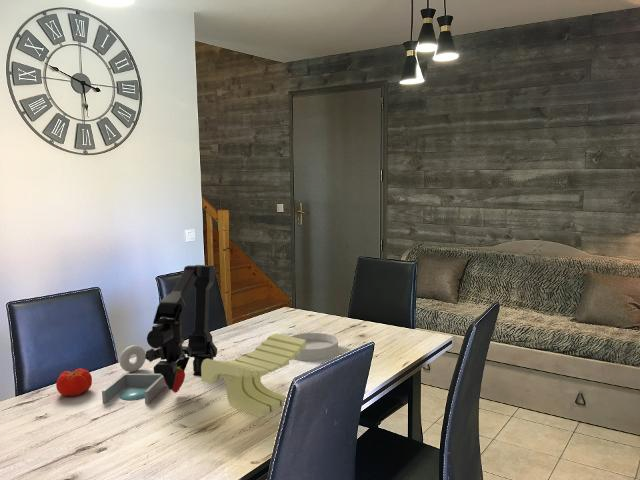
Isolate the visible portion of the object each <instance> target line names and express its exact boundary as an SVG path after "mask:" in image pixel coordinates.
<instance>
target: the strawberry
mask: <svg viewBox="0 0 640 480" xmlns="http://www.w3.org/2000/svg"><path fill="white" fill-rule="evenodd" d="M177 369H178V372H177V376H176V380H175V383H174V387H173V389H172V390H171V391H172V392H173V393H175V394H176V393H178V392H179V390H180V389H181V387H182V385H183V383H184V381H185V378H186V373H185V371H183V369H180V367H177ZM164 381H165V378H164ZM165 383H166V381H165ZM166 386H167V383H166Z"/></svg>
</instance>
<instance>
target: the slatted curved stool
mask: <svg viewBox="0 0 640 480" xmlns="http://www.w3.org/2000/svg"><path fill="white" fill-rule="evenodd" d="M305 348H306V340H304V339H299V338H295V337H290V335H284V334H280V333H273V334H271V335H270V336H269V335H268V337H267V338H266V339H265V340H264V341H262V342H261V344H260V345H258V346H256V348H255V349H254V350H253V351H250V352H248V353H247V354H245V356H244V355H243V356H240V357H237V358H234V359H231V360H227V361H226V360H225V361H224V360H215V359H213V360H211V359H208V358H207V359H205V360H203V362H202V365H201V375H200V376H201V382H204V383H208V384H210V385H211V384H212V385H213V384H214V383H215V382H217V379H218V380H222V379H223V381H224V383H225V387H226V394H227V395H226V396H227V401H228V403H229V405H230V407H233V408H235V409H238V410H241V411H243V412H247V413H249V414H251V415H255V416H257V417H260V418H262V417H264V416H266V415H268V414H269V413H271V412H274V411H275V410H277V409H279V408H280V407H281V406H285V405H284V402H285V399H286V395H283V394H280V393H278V392H275V391H273V390H271V389H269V388H268V387H266V386H265V385H264V384H263V383H262V382H261V378H262V377H264V376H266V375H268V374H269V373H272V372H275V371H277V370H279V369H280V368H281V369H282V368H284V367H286V366H288V365H290V361H292V360H294V359H295V355H298V354H300V349H301V350H303V349H305Z"/></svg>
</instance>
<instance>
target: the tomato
mask: <svg viewBox="0 0 640 480" xmlns="http://www.w3.org/2000/svg"><path fill="white" fill-rule="evenodd" d="M55 384H56V385H55V387H56V388H55V389H56V390H57V393H59V394H60V395H61V396H65V397H66V396H67V397H69V396H71V397H75V396H77V397H78V396H79V395H81V394H82V393H85V392H87V391H88V390H89V389H90V388H91V387H92V384H93V377H92V374H91V373H90V371H89V370H87V369H84V368H76V369H74V370H73V371H71V370H70V371H69V370H65V371H63V372H61V373H60V375H59V377H58V378H57V380H56V383H55Z"/></svg>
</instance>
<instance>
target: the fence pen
mask: <svg viewBox="0 0 640 480" xmlns="http://www.w3.org/2000/svg"><path fill="white" fill-rule="evenodd" d="M166 386H167V385H166V383H165V381H164V376H163V375H161V374H154V373H122V374H121V375H120V376H119V377H117V378H116V379H115V380H113V381H112V382H111V383H110V384H109V385H107V386H106V387H105V388H103V389H102V390H101V396H102V403H103V404H106V403H108V402H109V401H110V400H112V399H113V398H114V396H116V395H117V394H118V393H119V392H120V394H119V398H120V399H121V400H124V401H135V400H140V399H144V404H145V405H148V404H150V403H151V402H152V401H153V400H154V399H155V398H156V397H157V396H158V394H159V393H160V392H161V391H162V390H163V389H165V387H166ZM125 387H131V388H128V389H125V390H123V389H124V388H125ZM122 390H123V391H122ZM121 391H122V392H121Z"/></svg>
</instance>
